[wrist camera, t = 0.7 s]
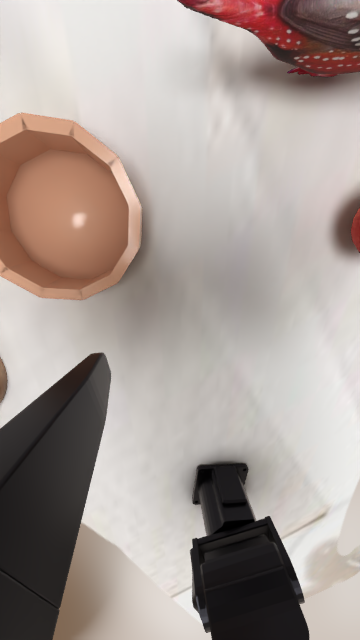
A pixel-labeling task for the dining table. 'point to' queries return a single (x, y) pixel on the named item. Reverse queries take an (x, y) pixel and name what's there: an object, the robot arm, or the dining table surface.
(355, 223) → the onion
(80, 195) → the bowl
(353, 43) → the decorative bird figurine
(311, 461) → the dining table surface
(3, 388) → the lid
